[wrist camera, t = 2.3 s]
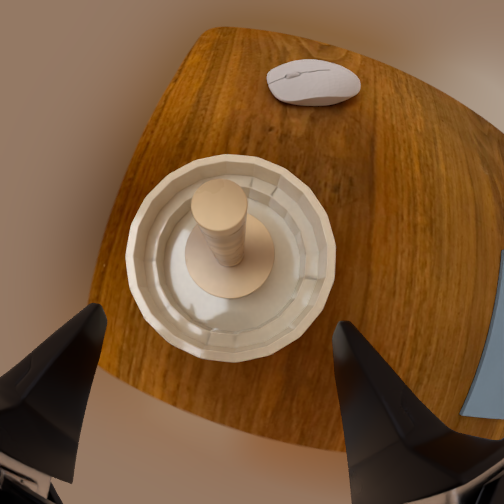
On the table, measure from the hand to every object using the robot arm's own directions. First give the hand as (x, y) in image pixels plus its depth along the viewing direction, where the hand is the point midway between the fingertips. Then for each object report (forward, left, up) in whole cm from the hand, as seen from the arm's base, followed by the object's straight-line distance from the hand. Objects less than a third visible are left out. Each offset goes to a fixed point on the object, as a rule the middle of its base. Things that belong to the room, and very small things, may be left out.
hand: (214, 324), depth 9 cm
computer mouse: (+24, +1, -11) cm, 26 cm away
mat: (+8, -35, -11) cm, 37 cm away
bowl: (+4, +1, -11) cm, 11 cm away
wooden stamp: (+4, +1, -10) cm, 11 cm away
